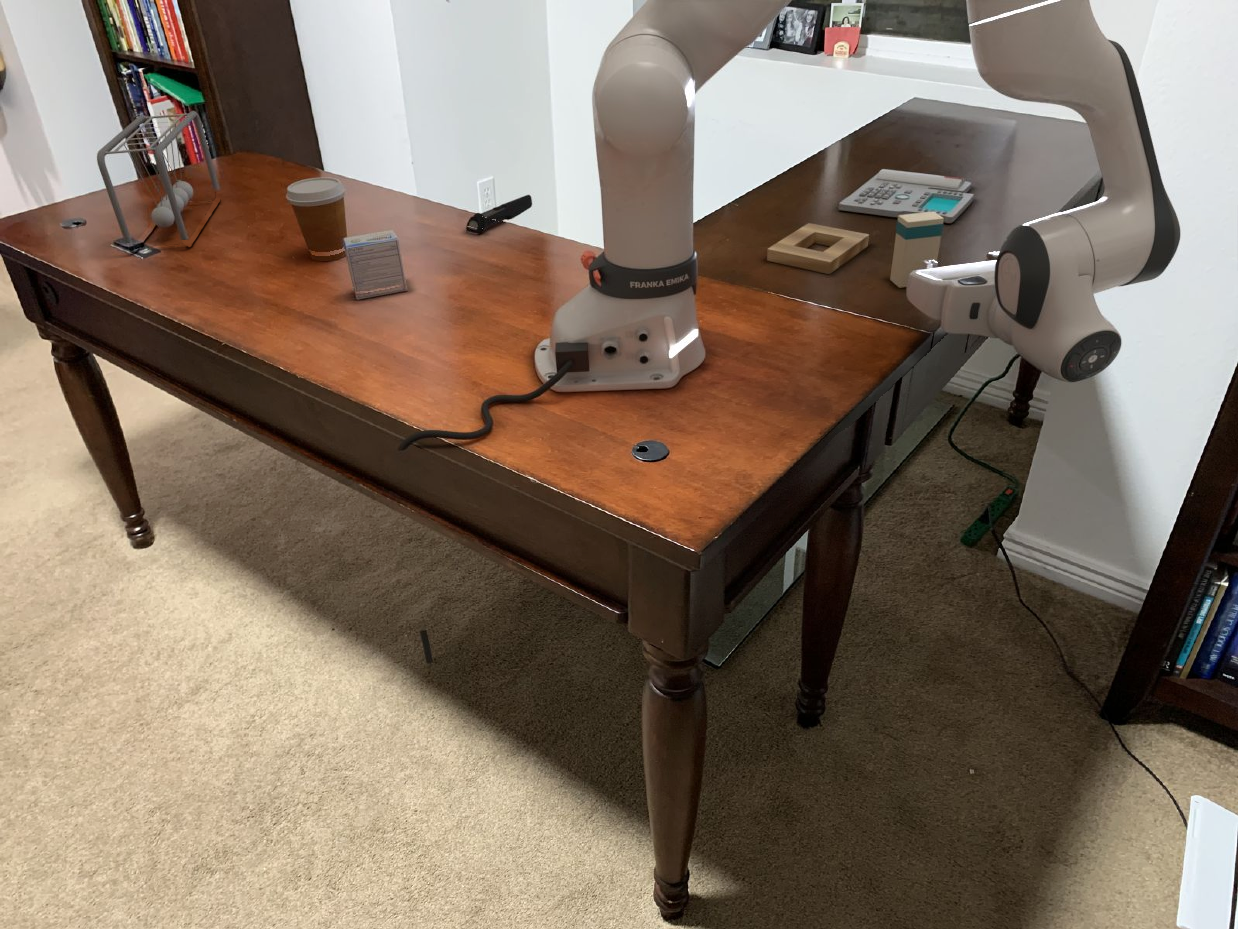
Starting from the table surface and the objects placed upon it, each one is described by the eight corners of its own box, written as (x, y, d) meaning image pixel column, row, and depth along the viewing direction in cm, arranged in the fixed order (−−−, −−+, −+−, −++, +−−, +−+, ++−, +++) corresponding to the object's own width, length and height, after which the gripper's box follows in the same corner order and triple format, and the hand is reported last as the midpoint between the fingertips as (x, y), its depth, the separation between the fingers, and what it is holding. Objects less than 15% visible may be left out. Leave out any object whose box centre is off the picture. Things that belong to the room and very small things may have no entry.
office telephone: (881, 163, 181) (986, 175, 171) (879, 176, 182) (984, 189, 173) (839, 196, 164) (953, 211, 155) (837, 210, 166) (950, 226, 157)
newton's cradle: (170, 203, 187) (141, 112, 177) (223, 199, 188) (197, 108, 178) (129, 256, 162) (92, 153, 152) (190, 250, 163) (158, 148, 153)
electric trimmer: (538, 211, 173) (536, 195, 171) (480, 235, 163) (477, 218, 161) (523, 208, 175) (522, 192, 173) (465, 232, 165) (462, 214, 163)
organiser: (829, 274, 142) (830, 262, 141) (766, 260, 148) (767, 248, 147) (868, 246, 151) (869, 234, 150) (807, 234, 157) (808, 222, 156)
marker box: (898, 288, 137) (907, 222, 131) (889, 279, 139) (897, 214, 134) (934, 283, 137) (944, 218, 132) (924, 275, 140) (933, 210, 134)
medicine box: (403, 281, 147) (393, 228, 142) (408, 291, 143) (398, 237, 139) (353, 290, 145) (341, 237, 140) (357, 301, 141) (345, 246, 136)
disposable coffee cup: (296, 251, 160) (279, 182, 154) (350, 240, 164) (336, 172, 157) (307, 269, 153) (290, 197, 146) (364, 257, 157) (349, 187, 150)
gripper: (1097, 267, 113) (1034, 230, 124) (941, 287, 110) (891, 247, 121) (1085, 314, 116) (1024, 274, 128) (933, 335, 114) (885, 291, 125)
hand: (958, 261), depth 124 cm, fingers open, 8 cm apart
